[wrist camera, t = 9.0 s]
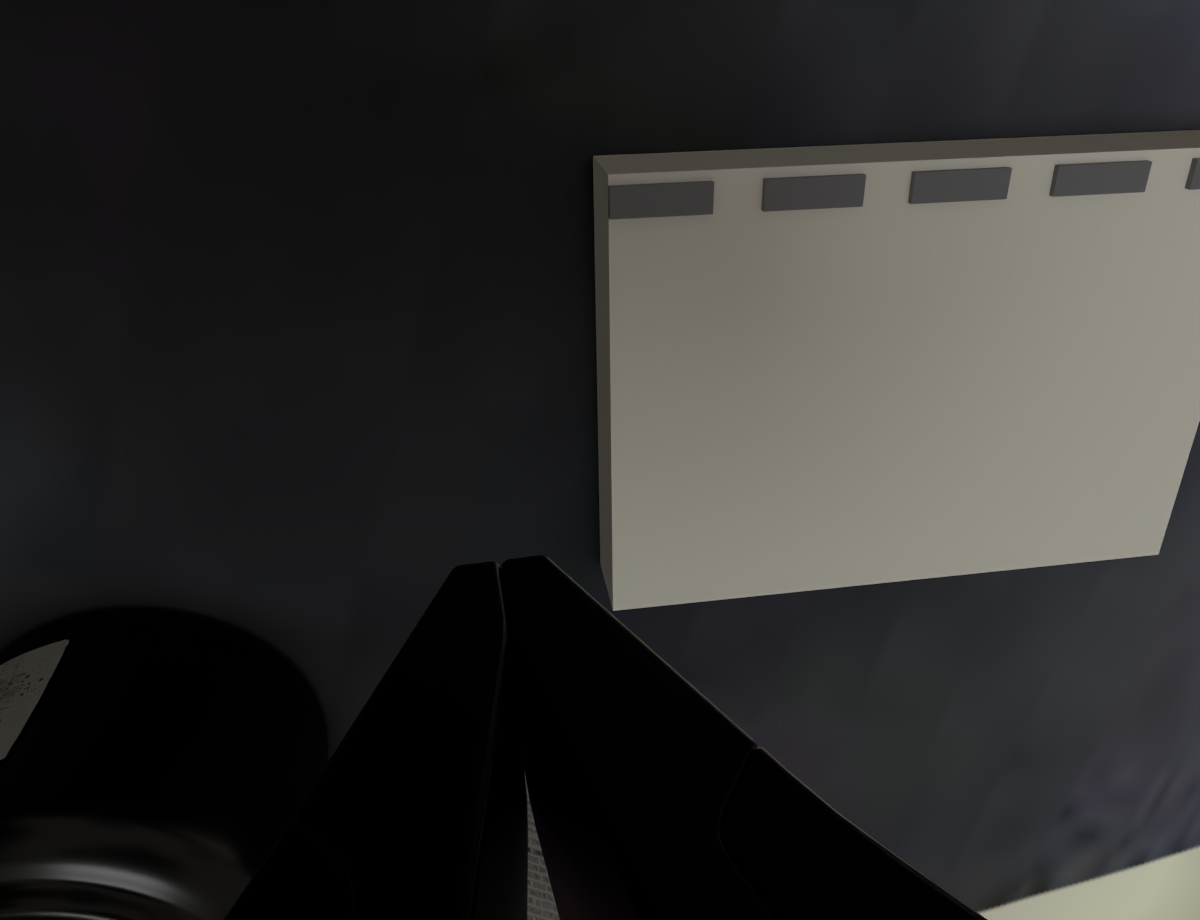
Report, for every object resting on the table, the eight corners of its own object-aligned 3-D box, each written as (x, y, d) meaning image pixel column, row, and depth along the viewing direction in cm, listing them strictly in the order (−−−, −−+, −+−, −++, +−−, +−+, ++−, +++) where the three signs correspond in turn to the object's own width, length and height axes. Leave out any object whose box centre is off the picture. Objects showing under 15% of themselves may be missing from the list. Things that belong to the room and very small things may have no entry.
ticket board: (600, 563, 24) (614, 614, 22) (592, 155, 19) (609, 175, 18) (1109, 514, 26) (1162, 557, 24) (1214, 129, 21) (1290, 144, 19)
